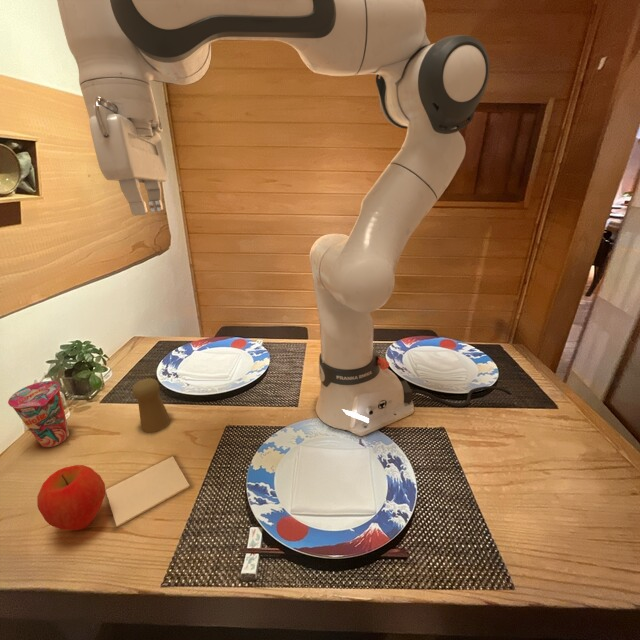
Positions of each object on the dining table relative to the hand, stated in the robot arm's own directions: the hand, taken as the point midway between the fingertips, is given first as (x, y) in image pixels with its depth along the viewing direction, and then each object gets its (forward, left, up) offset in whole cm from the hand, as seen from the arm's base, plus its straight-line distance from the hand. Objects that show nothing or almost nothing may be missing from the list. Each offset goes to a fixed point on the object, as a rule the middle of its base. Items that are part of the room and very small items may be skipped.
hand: (149, 213), depth 55 cm
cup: (+30, -11, -46) cm, 56 cm away
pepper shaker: (+10, -9, -46) cm, 48 cm away
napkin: (+9, +9, -46) cm, 48 cm away
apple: (+19, +13, -46) cm, 52 cm away
